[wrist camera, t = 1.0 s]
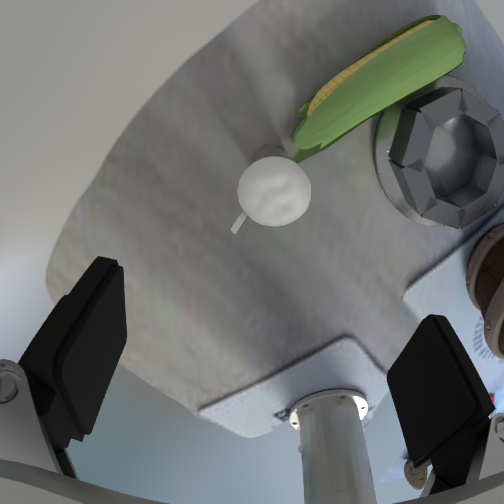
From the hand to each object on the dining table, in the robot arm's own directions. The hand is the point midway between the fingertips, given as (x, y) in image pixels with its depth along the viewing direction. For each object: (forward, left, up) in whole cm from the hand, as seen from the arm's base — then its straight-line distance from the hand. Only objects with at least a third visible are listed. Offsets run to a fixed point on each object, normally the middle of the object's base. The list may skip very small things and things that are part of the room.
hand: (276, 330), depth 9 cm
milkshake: (0, 0, -20) cm, 20 cm away
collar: (+6, -16, -20) cm, 26 cm away
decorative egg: (-58, -52, -20) cm, 81 cm away
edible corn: (+10, -7, -20) cm, 23 cm away
